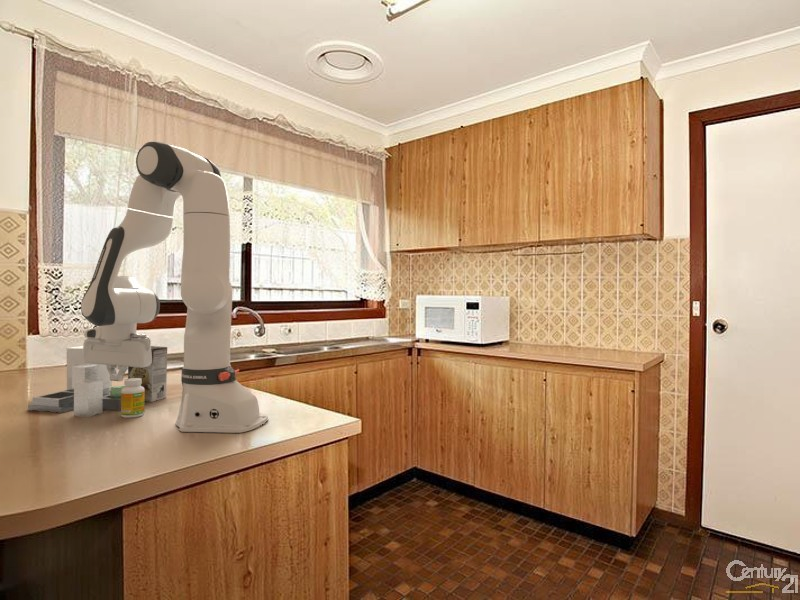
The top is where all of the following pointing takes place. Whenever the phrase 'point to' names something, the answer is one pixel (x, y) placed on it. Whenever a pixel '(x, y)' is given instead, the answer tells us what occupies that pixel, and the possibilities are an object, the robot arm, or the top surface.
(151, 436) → the top surface
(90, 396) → the billet
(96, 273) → the robot arm
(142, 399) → the supplement bottle
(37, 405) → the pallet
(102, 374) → the supplement box
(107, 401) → the grey square frame
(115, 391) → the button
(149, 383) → the coffee box
